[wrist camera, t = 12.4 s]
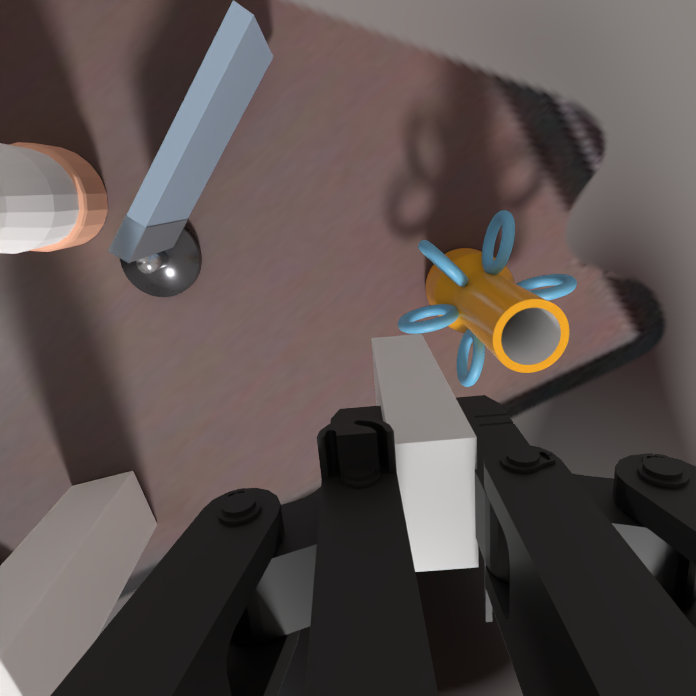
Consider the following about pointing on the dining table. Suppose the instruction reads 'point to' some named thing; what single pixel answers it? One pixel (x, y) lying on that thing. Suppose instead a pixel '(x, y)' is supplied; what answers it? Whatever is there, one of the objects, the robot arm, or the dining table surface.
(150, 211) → the light blue rectangular panel
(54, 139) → the dining table surface
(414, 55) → the dining table surface
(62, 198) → the pepper shaker
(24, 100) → the dining table surface
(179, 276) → the shiny grey rounded piece
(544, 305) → the tube with blue loops
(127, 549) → the milk
